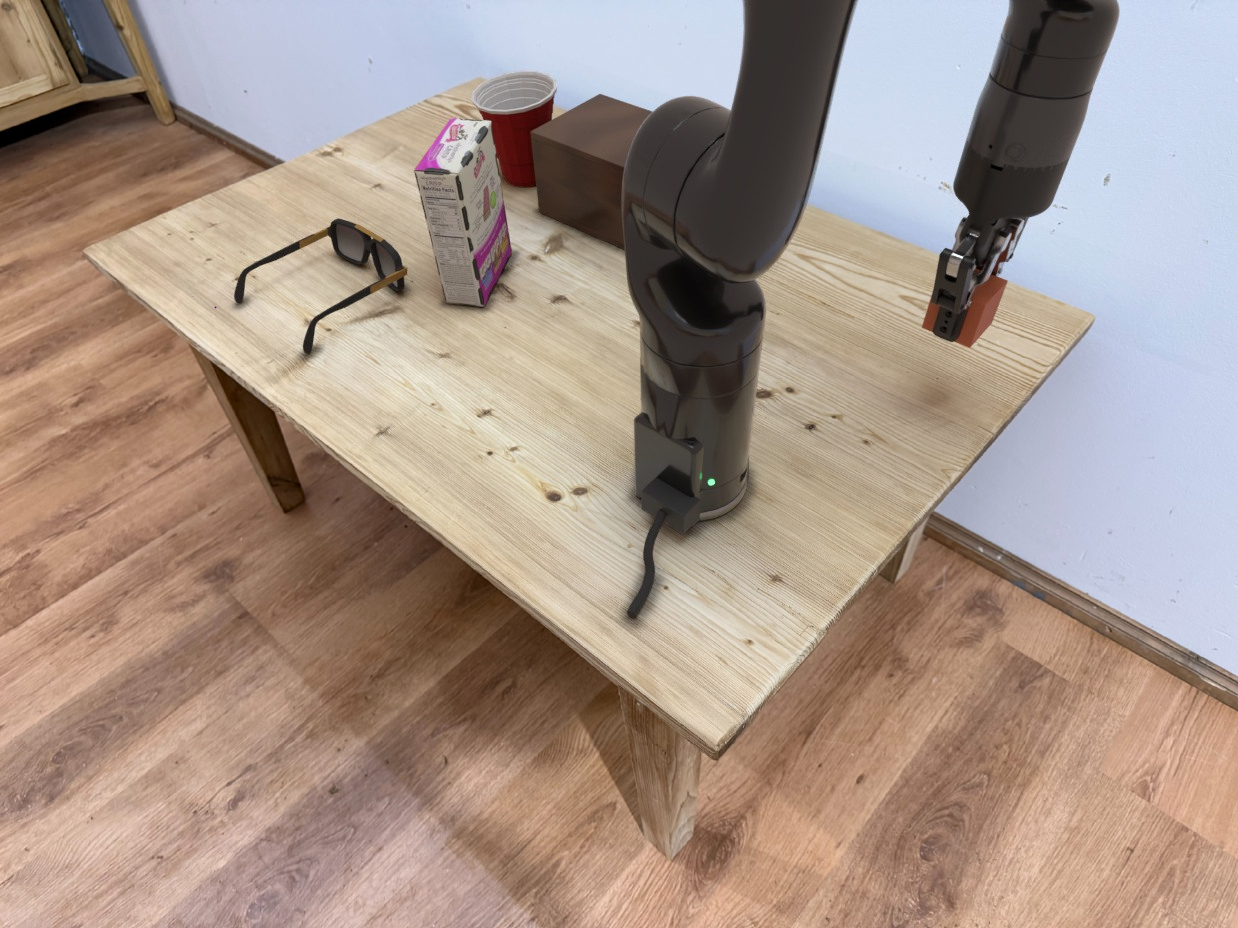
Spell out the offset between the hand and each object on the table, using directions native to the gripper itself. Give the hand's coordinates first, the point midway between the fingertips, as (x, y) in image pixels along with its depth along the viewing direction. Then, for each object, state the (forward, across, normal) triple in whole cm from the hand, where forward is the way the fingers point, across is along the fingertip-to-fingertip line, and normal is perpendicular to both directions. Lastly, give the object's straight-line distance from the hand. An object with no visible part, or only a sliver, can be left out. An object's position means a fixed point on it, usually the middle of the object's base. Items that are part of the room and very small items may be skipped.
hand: (957, 322), depth 76 cm
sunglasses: (+10, +27, -60) cm, 67 cm away
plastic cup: (+9, -6, -62) cm, 63 cm away
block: (0, 0, 0) cm, 0 cm away
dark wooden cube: (+9, -7, -47) cm, 48 cm away
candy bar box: (+9, +14, -50) cm, 52 cm away
